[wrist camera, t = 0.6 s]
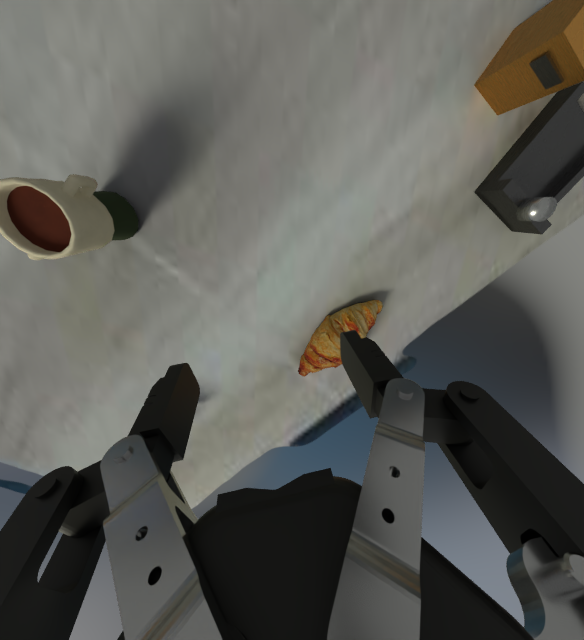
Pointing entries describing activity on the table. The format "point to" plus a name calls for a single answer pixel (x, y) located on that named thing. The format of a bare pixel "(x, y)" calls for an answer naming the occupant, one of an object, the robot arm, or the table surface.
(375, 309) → the croissant
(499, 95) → the block
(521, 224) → the tray
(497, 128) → the table surface
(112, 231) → the character mug
